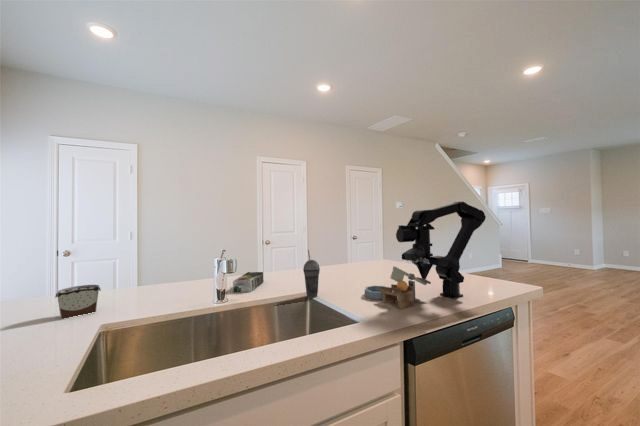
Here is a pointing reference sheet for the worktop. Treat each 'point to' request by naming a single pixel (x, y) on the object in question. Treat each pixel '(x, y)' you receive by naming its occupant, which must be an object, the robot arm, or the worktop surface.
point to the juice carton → (248, 282)
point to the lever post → (412, 283)
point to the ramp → (398, 295)
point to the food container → (77, 300)
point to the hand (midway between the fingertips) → (424, 279)
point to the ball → (402, 285)
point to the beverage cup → (311, 277)
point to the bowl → (373, 292)
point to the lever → (399, 275)
